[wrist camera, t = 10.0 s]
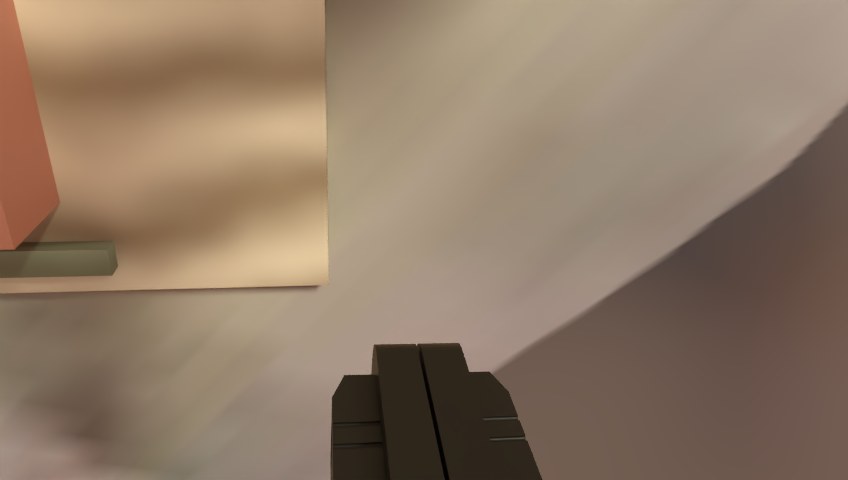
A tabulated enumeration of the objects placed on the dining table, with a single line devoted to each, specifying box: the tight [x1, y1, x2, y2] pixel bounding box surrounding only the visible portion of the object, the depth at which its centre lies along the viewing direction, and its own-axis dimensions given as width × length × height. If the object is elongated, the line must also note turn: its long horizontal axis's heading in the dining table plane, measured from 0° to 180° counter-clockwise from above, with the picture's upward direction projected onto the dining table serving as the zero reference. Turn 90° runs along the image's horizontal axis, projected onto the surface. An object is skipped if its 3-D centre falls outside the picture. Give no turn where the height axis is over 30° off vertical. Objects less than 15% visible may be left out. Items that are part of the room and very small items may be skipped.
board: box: [0, 0, 328, 293], centre depth 27 cm, size 24×28×2 cm
